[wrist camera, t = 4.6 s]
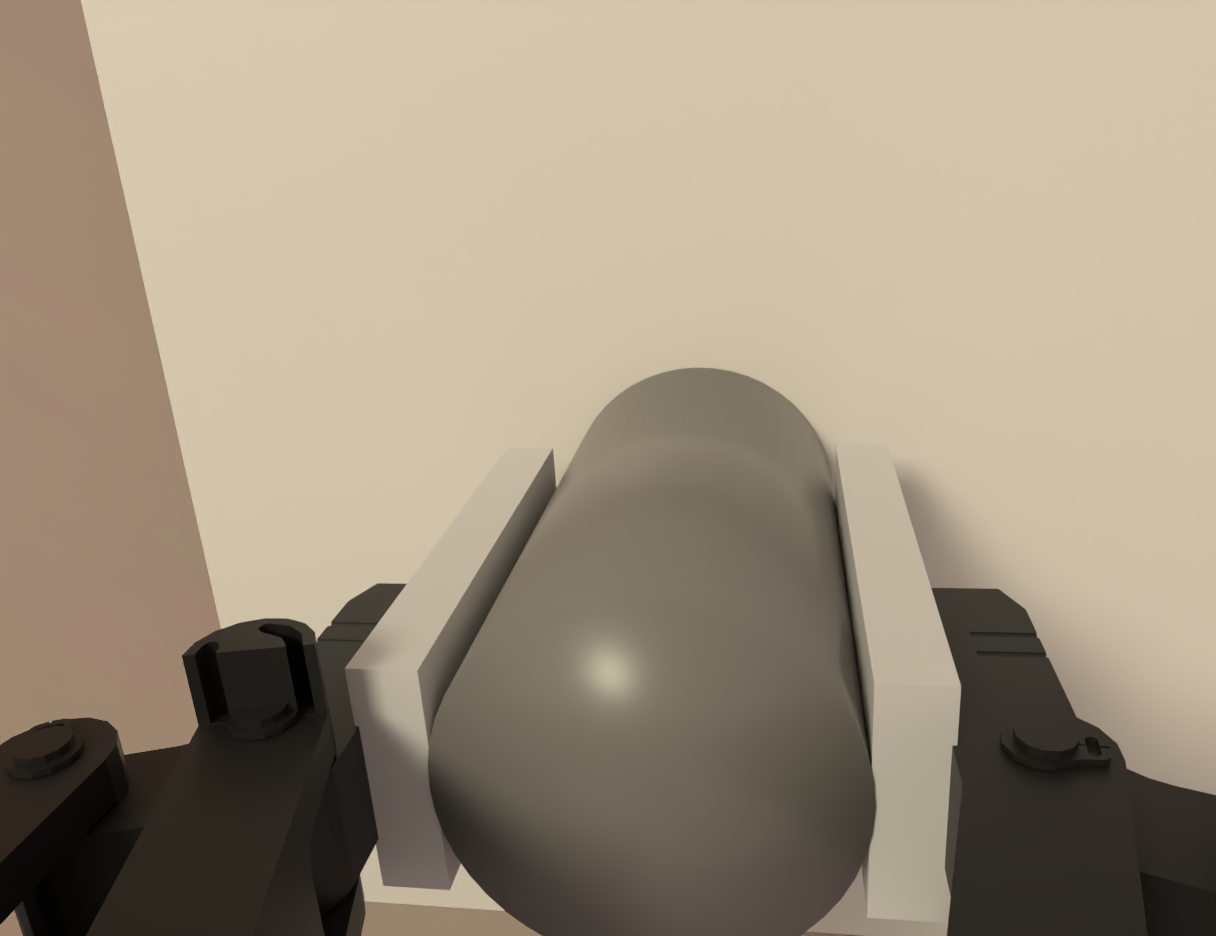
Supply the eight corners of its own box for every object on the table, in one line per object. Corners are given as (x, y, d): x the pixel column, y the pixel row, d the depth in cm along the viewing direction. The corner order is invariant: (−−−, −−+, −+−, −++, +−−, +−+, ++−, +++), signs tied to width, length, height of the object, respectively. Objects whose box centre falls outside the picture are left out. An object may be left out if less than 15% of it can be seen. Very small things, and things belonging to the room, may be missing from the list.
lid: (1199, 912, 20) (1506, 1518, 12) (304, 856, 23) (32, 1301, 15) (1394, -202, 14) (2431, -675, 5) (110, -68, 17) (-578, -222, 8)
